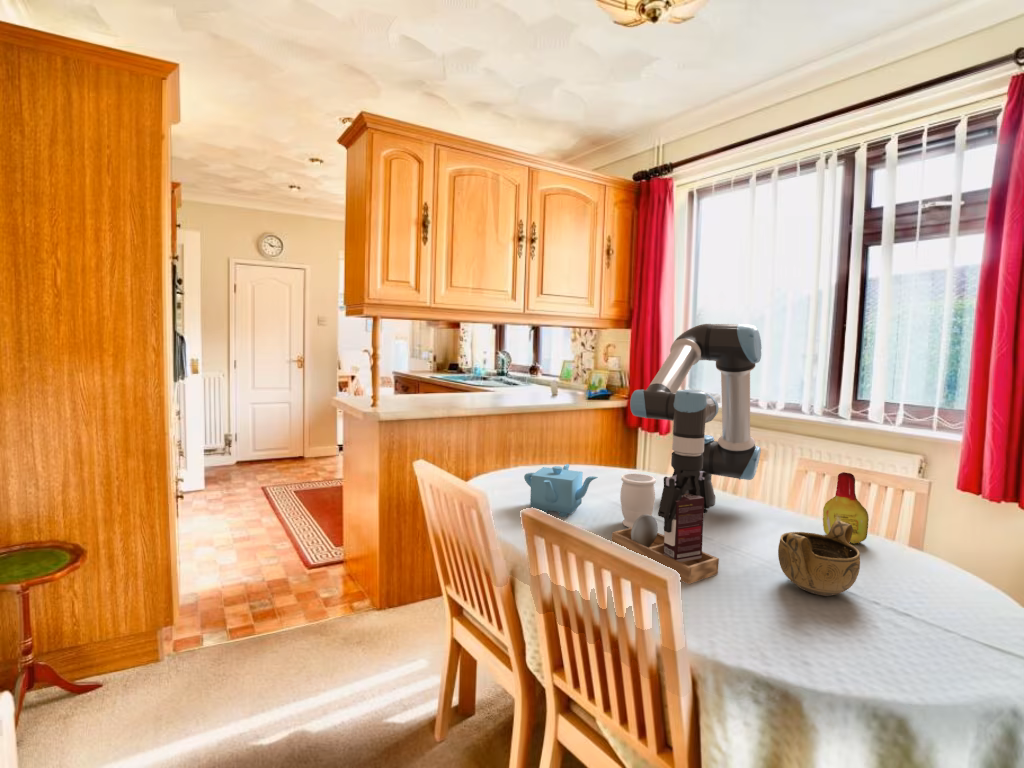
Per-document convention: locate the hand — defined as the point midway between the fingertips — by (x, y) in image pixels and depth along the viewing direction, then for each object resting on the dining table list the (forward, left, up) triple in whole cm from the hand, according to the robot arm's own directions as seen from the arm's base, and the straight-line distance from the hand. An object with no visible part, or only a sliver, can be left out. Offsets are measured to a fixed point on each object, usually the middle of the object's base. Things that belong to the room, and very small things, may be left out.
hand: (682, 540), depth 140 cm
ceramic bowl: (-19, +24, -8) cm, 31 cm away
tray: (0, -6, -7) cm, 10 cm away
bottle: (-58, +11, -8) cm, 59 cm away
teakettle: (0, -50, -8) cm, 51 cm away
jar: (-13, -28, -8) cm, 32 cm away
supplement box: (0, 0, -5) cm, 5 cm away
